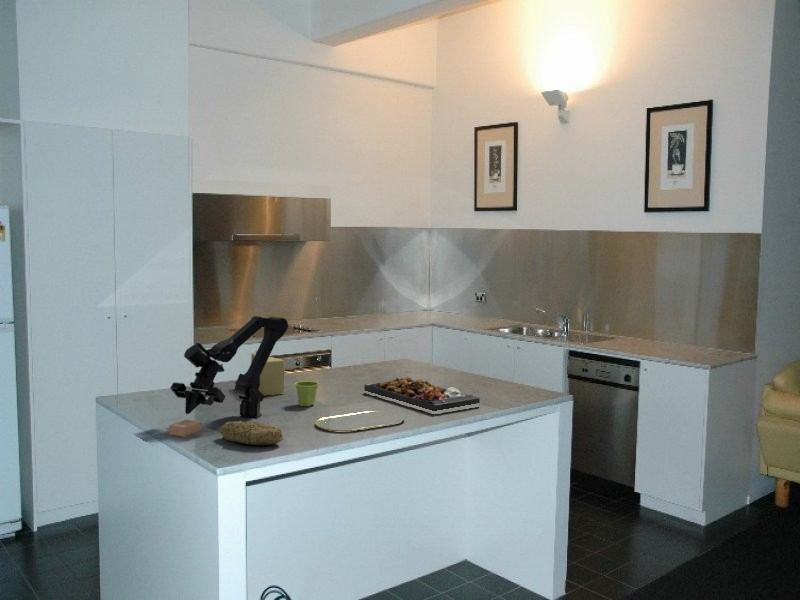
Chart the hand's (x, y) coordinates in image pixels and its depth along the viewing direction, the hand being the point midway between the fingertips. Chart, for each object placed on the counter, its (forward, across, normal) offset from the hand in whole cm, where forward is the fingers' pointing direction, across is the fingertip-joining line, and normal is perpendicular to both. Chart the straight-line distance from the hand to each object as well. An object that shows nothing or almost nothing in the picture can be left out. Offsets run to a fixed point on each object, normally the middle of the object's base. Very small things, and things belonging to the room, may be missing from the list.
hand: (186, 413), depth 247 cm
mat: (+3, -1, -6) cm, 7 cm away
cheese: (-45, +12, -55) cm, 72 cm away
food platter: (-55, -54, -65) cm, 101 cm away
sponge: (+5, -25, -5) cm, 26 cm away
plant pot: (-34, -17, -44) cm, 58 cm away
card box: (+1, 0, -6) cm, 6 cm away
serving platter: (-22, -47, -33) cm, 61 cm away
